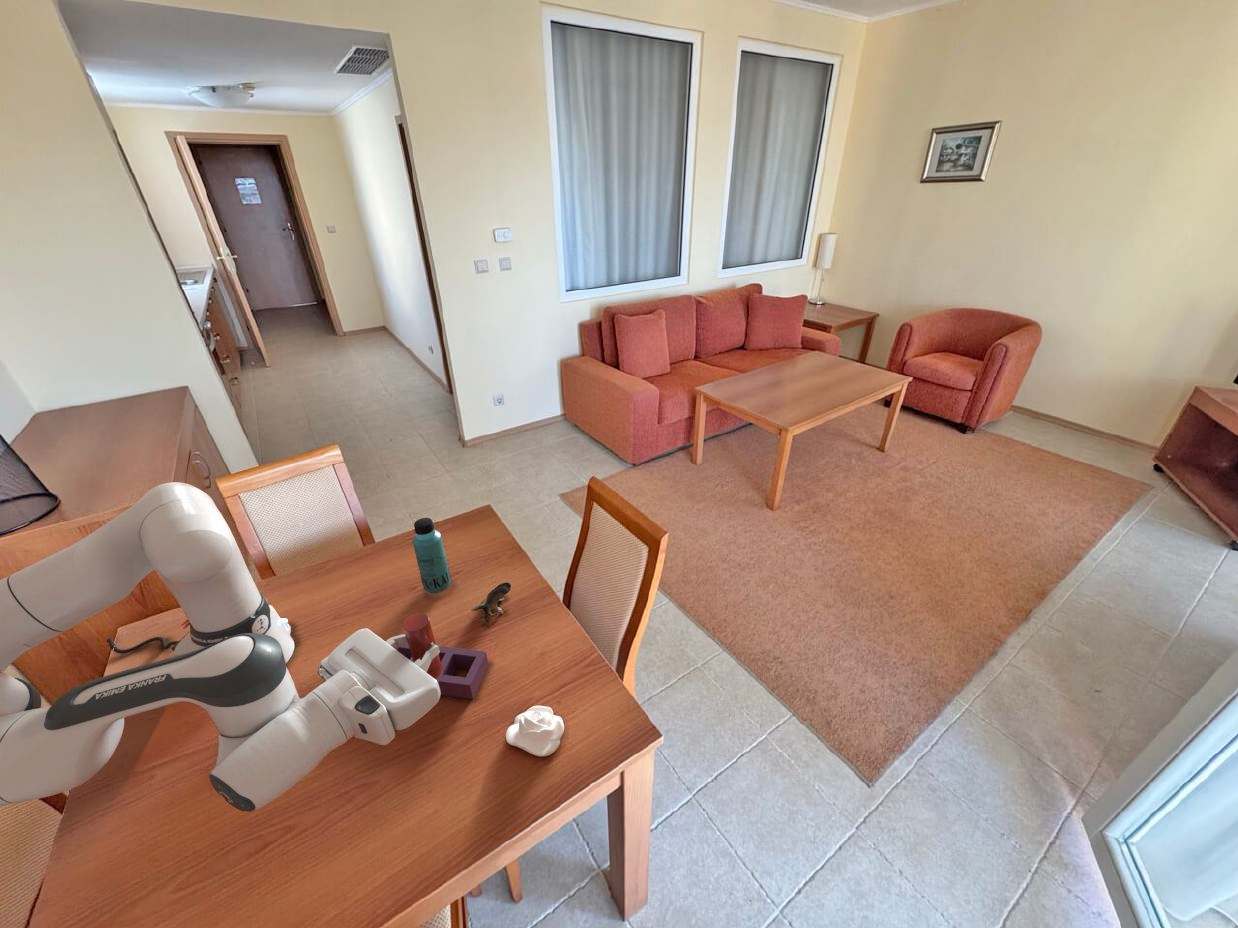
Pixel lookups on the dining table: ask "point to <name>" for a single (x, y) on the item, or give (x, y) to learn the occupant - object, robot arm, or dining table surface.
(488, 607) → the eagle figurine
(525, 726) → the rose
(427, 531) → the beverage bottle
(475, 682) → the peg board
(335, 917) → the dining table surface
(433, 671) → the red peg
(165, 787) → the dining table surface
